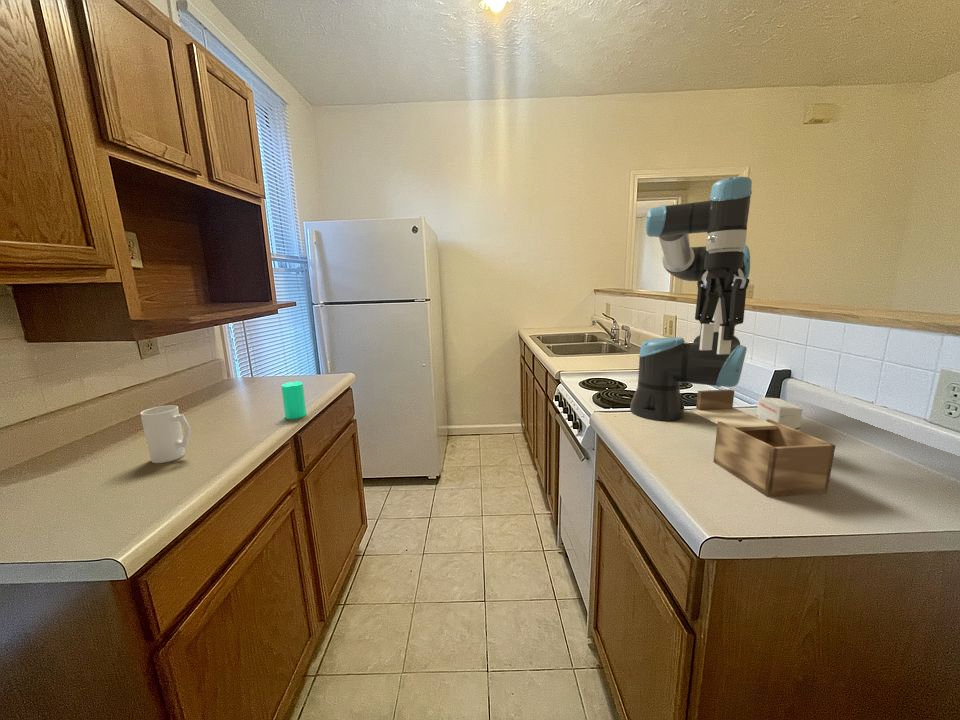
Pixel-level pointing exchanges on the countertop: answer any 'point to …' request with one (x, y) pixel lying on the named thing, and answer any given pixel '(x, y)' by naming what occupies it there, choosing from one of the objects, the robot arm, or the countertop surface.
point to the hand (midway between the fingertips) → (714, 351)
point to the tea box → (775, 459)
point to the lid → (727, 411)
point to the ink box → (779, 412)
